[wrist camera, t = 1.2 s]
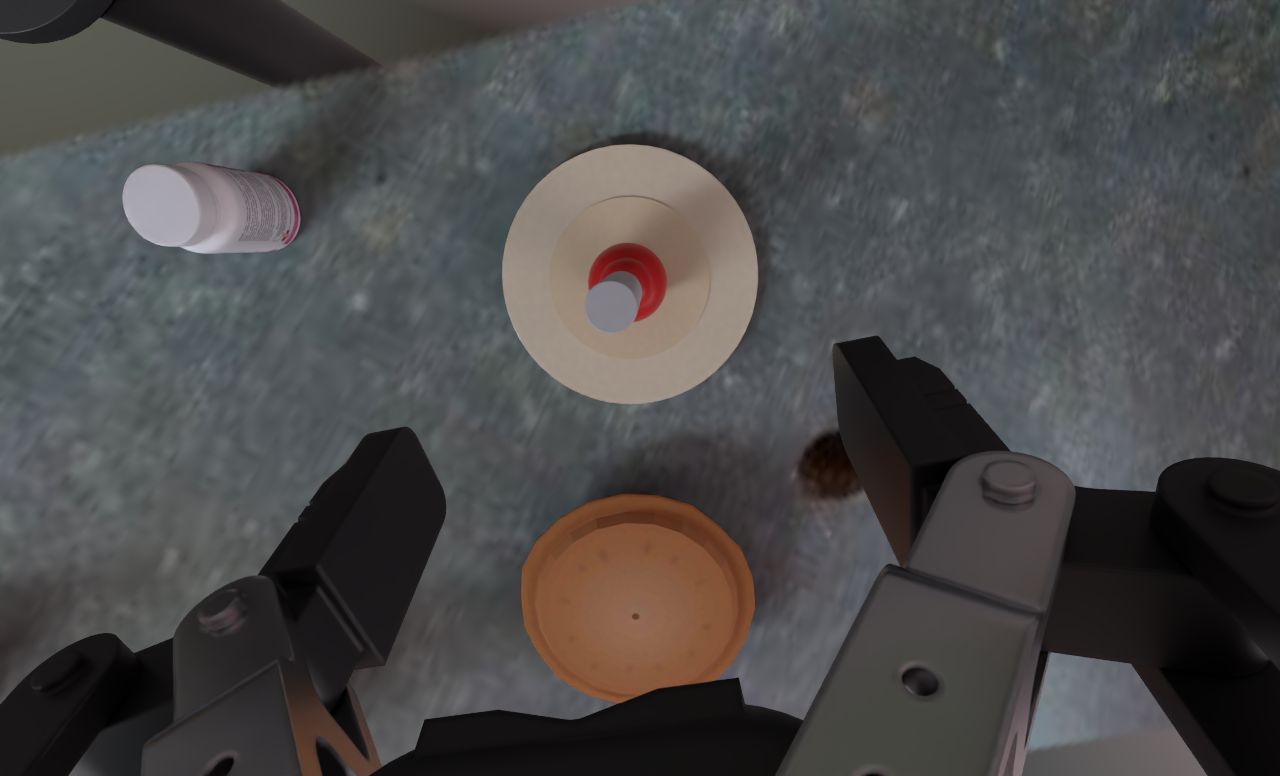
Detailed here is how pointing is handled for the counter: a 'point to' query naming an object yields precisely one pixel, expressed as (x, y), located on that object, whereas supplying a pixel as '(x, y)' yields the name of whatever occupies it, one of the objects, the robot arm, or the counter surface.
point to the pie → (636, 596)
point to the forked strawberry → (624, 287)
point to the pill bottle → (210, 208)
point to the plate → (649, 216)
